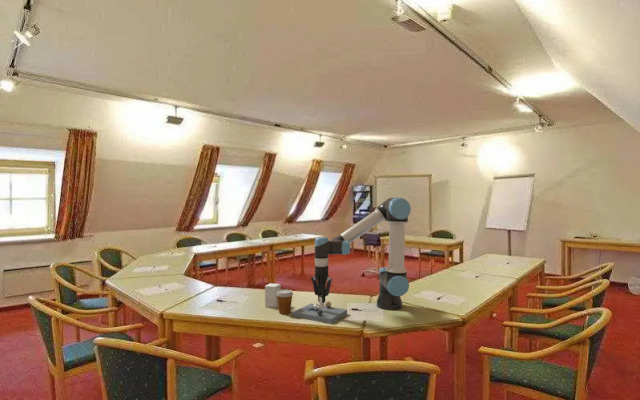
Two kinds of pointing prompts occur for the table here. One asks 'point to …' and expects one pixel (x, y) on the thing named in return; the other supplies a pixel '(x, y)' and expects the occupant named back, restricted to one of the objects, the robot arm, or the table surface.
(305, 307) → the board
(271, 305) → the supplement box
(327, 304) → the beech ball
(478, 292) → the table surface
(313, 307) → the steel ball
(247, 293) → the table surface
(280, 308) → the disposable coffee cup
